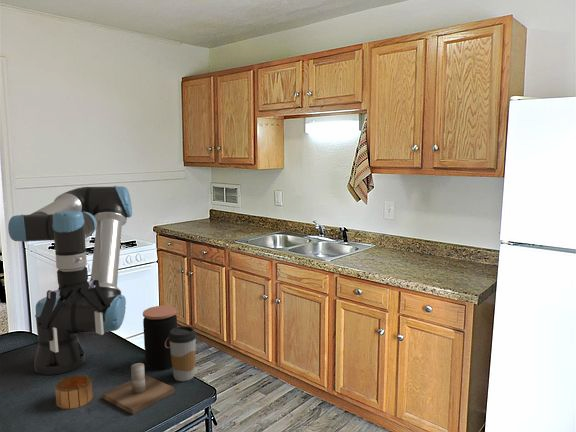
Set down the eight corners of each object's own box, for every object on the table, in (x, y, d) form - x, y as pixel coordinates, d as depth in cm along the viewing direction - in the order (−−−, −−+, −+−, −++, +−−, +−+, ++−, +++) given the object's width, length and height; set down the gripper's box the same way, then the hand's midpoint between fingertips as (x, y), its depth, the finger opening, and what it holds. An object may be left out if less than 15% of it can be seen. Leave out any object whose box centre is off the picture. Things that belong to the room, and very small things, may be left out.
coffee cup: (186, 367, 149) (184, 323, 146) (203, 375, 143) (201, 329, 141) (164, 377, 142) (162, 331, 140) (181, 386, 137) (179, 338, 135)
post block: (103, 398, 130) (101, 368, 129) (144, 378, 142) (142, 351, 140) (133, 414, 122) (131, 383, 121) (174, 392, 133) (173, 363, 132)
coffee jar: (170, 372, 146) (167, 317, 143) (139, 369, 148) (136, 315, 145) (184, 357, 156) (182, 306, 153) (155, 354, 158) (152, 304, 156)
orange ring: (50, 401, 129) (48, 385, 128) (81, 388, 136) (80, 372, 136) (67, 412, 124) (66, 395, 123) (99, 397, 131) (97, 381, 130)
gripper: (32, 281, 113) (40, 362, 116) (120, 260, 133) (124, 329, 136) (17, 276, 117) (25, 355, 120) (104, 256, 137) (109, 324, 140)
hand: (78, 342), depth 128 cm, fingers open, 13 cm apart
